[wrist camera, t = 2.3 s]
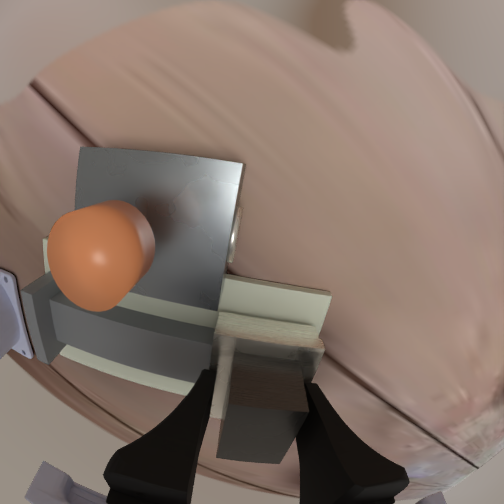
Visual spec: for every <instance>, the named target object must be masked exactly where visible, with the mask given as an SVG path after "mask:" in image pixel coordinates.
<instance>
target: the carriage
mask: <svg viewBox="0 0 504 504" xmlns="http://www.w3.org/2000/svg"><path fill="white" fill-rule="evenodd" d="M324 351H325V347H324V344H323V341H322V339H319V336H318V333H317V330H316V327H315V326H310V325H303V324H295V323H288V322H281V321H275V320H268V319H262V318H256V317H250V316H244V315H238V314H233V313H227V312H222V311H220V312H219V316H218V320H217V323H216V327H215V331H214V337H213V344H212V351H211V358H210V365H209V370H213V371H217V375H216V381H215V387H214V394H213V400H212V406H211V412H210V417H213V418H219V419H221V424H220V432H219V440H218V448H217V455H216V458H221V459H228V460H236V461H245V462H256V463H271V464H280V462H281V461H282V459H283V457H284V456H285V454H286V452H287V451H288V449H289V447H290V446H291V444H292V442H293V441H294V439H295V437H296V435H297V434H298V432H299V430H300V428H301V426H302V425H303V423H304V421H305V419H306V417H307V415H308V413H309V408H308V403H307V397H306V392H305V387H304V384H305V383H311V381H312V379H313V377H314V375H315V372H316V370H317V368H318V365H319V363H320V360H321V358H322V356H323V353H324Z"/></svg>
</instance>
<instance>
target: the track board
mask: <svg viewBox="0 0 504 504" xmlns="http://www.w3.org/2000/svg"><path fill="white" fill-rule="evenodd" d="M48 238H49V236H48V237H46V238H44V239H43V252H44V265H45V275H43V276H41V277H40V278H38V279H37V280H35V281H34V282H32V283H31V284H29V285H28V286H26V287H25V288H23V289H22V290H21V295H22V300H23V305H24V310H25V315H26V319H27V323H28V327H29V331H30V335H31V339H32V342H33V346H34V349H35V352H36V355H37V359H38V360H40V361H42V362H44V363H46V364H48V365H49V364H50V363H51V362H52V361H53V360H54V358H55V357H56V356H57V355H58V354H59V353H60V355H62V356H64V357H66V358H69V359H71V360H74V361H76V362H78V363H81V364H83V365H86V366H89V367H91V368H94V369H97V370H99V371H102V372H105V373H108V374H111V375H114V376H117V377H120V378H123V379H126V380H129V381H132V382H135V383H139V384H142V385H146V386H149V387H153V388H157V389H160V390H164V391H168V392H172V393H177V394H181V395H185V396H186V395H187V394H188V393H189V391H190V390H191V389H192V387H193V386H194V384H195V383H196V381H197V379H198V378H199V376H200V374H201V371H202V370H203V369H208V370H209V365H210V358H211V351H212V344H213V337H214V331H215V327H216V323H217V320H218V316H219V312H220V311H222V312H227V313H233V314H238V315H244V316H250V317H256V318H262V319H268V320H275V321H281V322H288V323H295V324H303V325H310V326H315V327H316V330H317V333H318V336H319V333H320V331H321V328H322V325H323V322H324V319H325V316H326V313H327V310H328V308H329V305H330V302H331V298H332V295H331V293H330V292H329V291H323V290H317V289H310V288H304V287H298V286H292V285H286V284H281V283H275V282H269V281H263V280H258V279H252V278H247V277H241V276H236V275H230V274H226V278H225V283H224V289H223V292H222V296H221V300H220V304H219V308H218V311H213V310H208V309H203V308H198V307H193V306H188V305H183V304H179V303H174V302H169V301H165V300H160V299H156V298H152V297H148V296H143V295H139V294H135V293H131V292H128V293H127V294H126V295H125V297H124V298H123V299H122V300H121V301H120V302H119V303H118V304H117V305H116V306H115V307H113V308H111V309H109V310H106V311H101V312H95V311H89V310H86V309H83V308H81V307H79V306H77V305H76V304H74V303H73V302H72V301H70V300H69V299H68V298H67V297H66V296H65V295H64V294H63V292H62V291H61V290H60V289H59V287H58V286H57V284H56V282H55V280H54V278H53V276H52V274H51V271H50V268H49V263H48V257H47V243H48Z"/></svg>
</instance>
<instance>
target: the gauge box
mask: <svg viewBox="0 0 504 504" xmlns="http://www.w3.org/2000/svg"><path fill="white" fill-rule="evenodd" d="M245 167H246V164H242V163H236V162H230V161H223V160H217V159H210V158H204V157H196V156H189V155H181V154H172V153H163V152H154V151H143V150H131V149H117V148H99V147H80V153H79V161H78V170H77V180H76V194H75V210H78V209H82V208H85V207H88V206H91V205H94V204H98V203H101V202H104V201H108V200H120V201H124V202H127V203H129V204H131V205H133V206H134V207H136V208H137V209H138V210H139V211H140V212H141V213H142V214H143V215H144V216H145V218H146V219H147V221H148V222H149V224H150V227H151V229H152V232H153V235H154V239H155V255H154V259H153V263H152V265H151V267H150V269H149V270H148V272H147V273H146V274H145V275H144V276H143V277H142V278H141V279H140V280H139V282H138V283H137V284H136V285H135V286H134V287H133V288H132V289H131V290H130V291H129V292H131V293H135V294H139V295H143V296H148V297H152V298H156V299H160V300H165V301H169V302H174V303H179V304H183V305H188V306H193V307H198V308H203V309H208V310H213V311H218V308H219V304H220V300H221V296H222V292H223V289H224V283H225V278H226V274H227V268H228V262H229V263H233V259H234V254H235V249H236V244H237V239H238V233H239V228H240V222H241V216H242V210H243V207H238V205H239V199H240V194H241V189H242V183H243V178H244V172H245Z"/></svg>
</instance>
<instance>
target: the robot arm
mask: <svg viewBox="0 0 504 504" xmlns="http://www.w3.org/2000/svg"><path fill="white" fill-rule="evenodd" d="M11 348H12V349H13V350H15V351H17V352H18V353H20V354H22V355H24V356H25V357H27V358H29V359H32V358H33V356H34V355H33V351H32V348H31V345H30V341H29V338H28V334H27V331H26V327H25V323H24V319H23V314H22V310H21V305H20V300H19V295H18V290H17V284H16V279H15V277H14V275H13V274H11V273H9V272H7V271H4V270H2V269H0V359H1V358H2V357H3V356H4V355H5V354H6V353H7V352H8V351H9V350H10V349H11ZM216 375H217V371H213V370H208V369H203V370H202V371H201V374H200V376H199V378H198V379H197V381H196V383H195V384H194V386H193V387H192V389H191V390H190V391H189V393H188V394H187V395H186V397H185V398H184V399H183V400H182V402H181V403H180V404H179V405H178V406H177V407H176V408H175V410H174V411H173V412H172V413H171V414H170V415H169V416H167V417H166V418H165V419H164V420H163V421H162V422H161V423H160V424H158V425H157V426H156V427H155V428H153V429H152V430H151V431H149V432H148V433H146V434H145V435H143V436H142V437H140V438H139V439H137V440H136V441H134V442H132V443H130V444H128V445H126V446H124V447H122V448H120V449H118V450H117V451H116V452H115V453H114V455H113V456H112V457H111V459H110V461H109V462H108V464H107V466H106V469H105V471H104V474H103V476H104V479H105V480H106V482H107V483H108V485H109V487H110V491H109V493H108V496H105V495H103V494H100V493H98V492H95V491H93V490H91V489H89V488H86V487H84V486H82V485H80V484H78V483H76V482H74V481H73V480H72V479H71V477H70V476H69V475H67V474H66V473H65V472H63V471H61V470H59V469H57V468H55V467H54V466H52V465H50V464H48V463H47V462H44V461H43V462H42V464H41V466H40V468H39V470H38V472H37V474H36V476H35V477H34V479H33V481H32V483H31V485H30V487H29V489H28V491H27V493H26V495H25V499H26V500H28V501H29V502H30V503H31V504H190V503H191V498H192V492H193V485H194V479H195V473H196V467H197V462H198V456H199V452H200V448H201V445H202V441H203V438H204V434H205V431H206V427H207V424H208V420H209V417H210V412H211V406H212V400H213V394H214V387H215V381H216ZM304 387H305V392H306V397H307V403H308V408H309V413H308V415H307V417H306V419H305V421H304V423H303V425H302V426H301V428H300V430H299V432H298V434H297V435H296V442H297V449H298V455H299V462H300V504H393V503H395V499H394V496H396V495H397V494H398V493H400V492H401V491H402V490H404V489H405V488H406V487H407V486H408V484H409V478H408V476H407V473H406V471H405V468H404V467H402V466H400V465H398V464H396V463H394V462H392V461H390V460H388V459H387V458H385V457H383V456H382V455H380V454H379V453H377V452H376V451H374V450H373V449H372V448H371V447H369V446H368V445H367V444H365V443H364V442H363V441H362V440H361V439H360V438H359V437H358V436H357V435H356V434H355V433H354V432H353V431H352V430H351V429H350V428H349V427H348V426H347V425H346V424H345V423H344V421H343V420H342V419H341V418H340V416H339V415H338V414H337V412H336V411H335V410H334V408H333V407H332V406H331V404H330V403H329V401H328V400H327V398H326V397H325V395H324V394H323V392H322V391H321V389H320V388H319V386H318V385H317V383H305V384H304ZM416 504H446V501H445V499H444V496H443V494H442V492H441V491H440V492H437V493H435V494H432V495H430V496H427V497H425V498H423V499H421V500H420V501H418V502H417V503H416Z"/></svg>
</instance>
